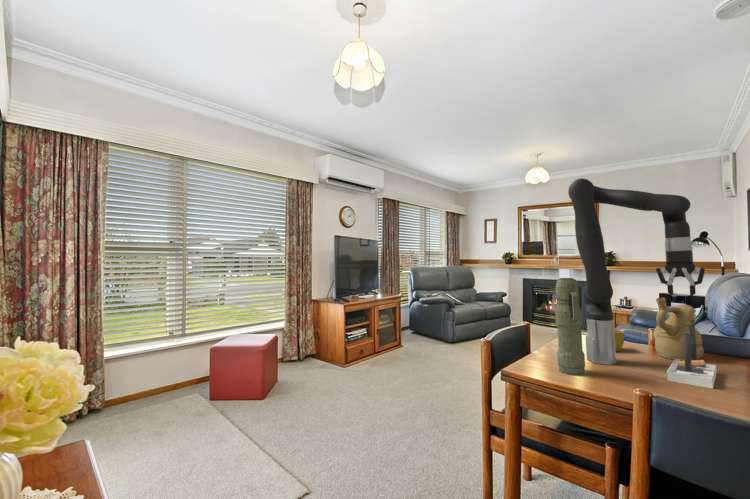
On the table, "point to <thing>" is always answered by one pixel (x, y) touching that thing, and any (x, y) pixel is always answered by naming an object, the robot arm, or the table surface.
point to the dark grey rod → (692, 342)
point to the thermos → (569, 327)
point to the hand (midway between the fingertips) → (681, 295)
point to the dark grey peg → (687, 352)
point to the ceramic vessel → (674, 330)
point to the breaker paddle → (692, 362)
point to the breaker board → (692, 374)
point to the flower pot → (618, 339)
